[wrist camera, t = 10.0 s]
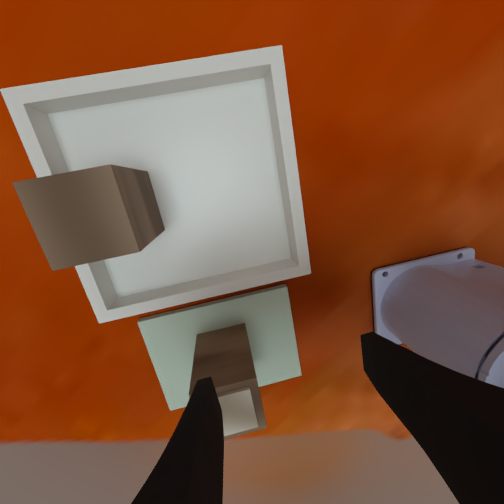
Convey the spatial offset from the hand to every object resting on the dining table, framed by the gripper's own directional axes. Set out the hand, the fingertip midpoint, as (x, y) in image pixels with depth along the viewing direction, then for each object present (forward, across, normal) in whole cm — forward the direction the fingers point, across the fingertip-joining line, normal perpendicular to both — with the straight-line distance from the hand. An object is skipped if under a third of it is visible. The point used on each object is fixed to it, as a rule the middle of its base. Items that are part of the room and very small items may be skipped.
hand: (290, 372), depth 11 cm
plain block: (+9, +8, -9) cm, 14 cm away
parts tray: (+9, +4, -9) cm, 13 cm away
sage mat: (+9, +4, +4) cm, 11 cm away
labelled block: (+9, +4, +4) cm, 10 cm away
